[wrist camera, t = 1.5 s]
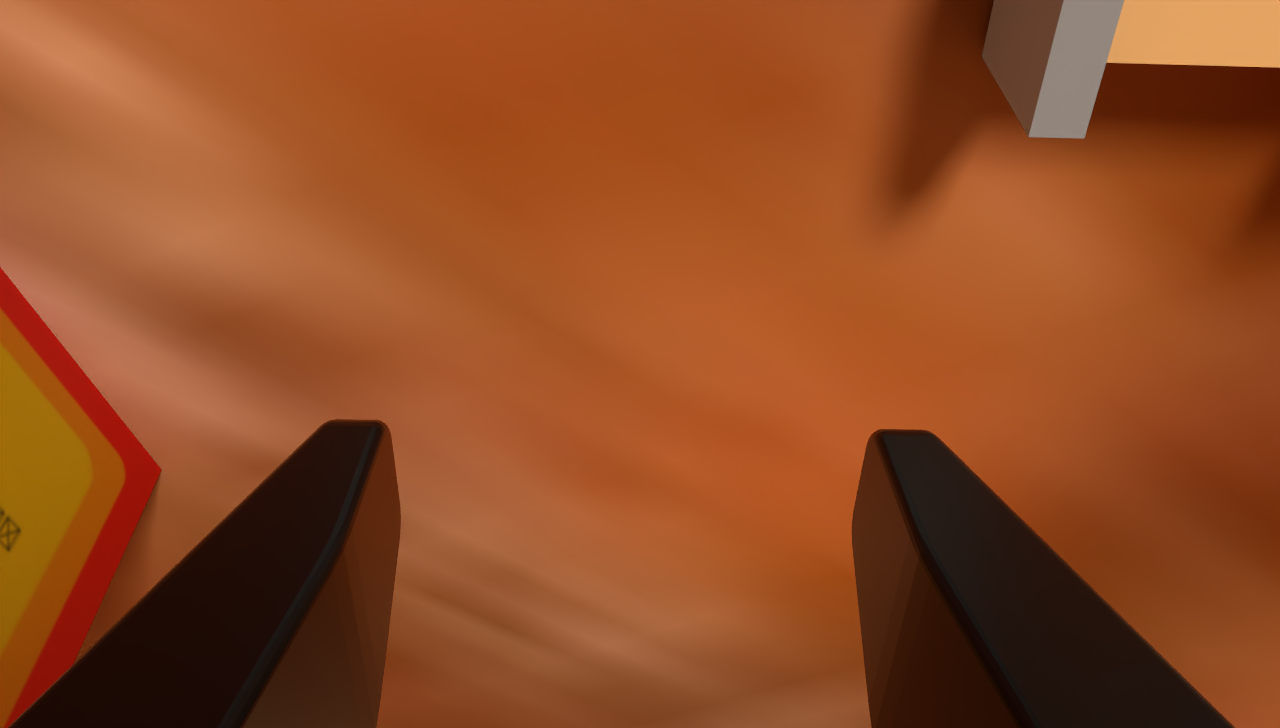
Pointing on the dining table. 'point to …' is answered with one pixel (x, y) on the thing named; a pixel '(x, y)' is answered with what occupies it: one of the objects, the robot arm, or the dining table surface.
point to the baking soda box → (56, 503)
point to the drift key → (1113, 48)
